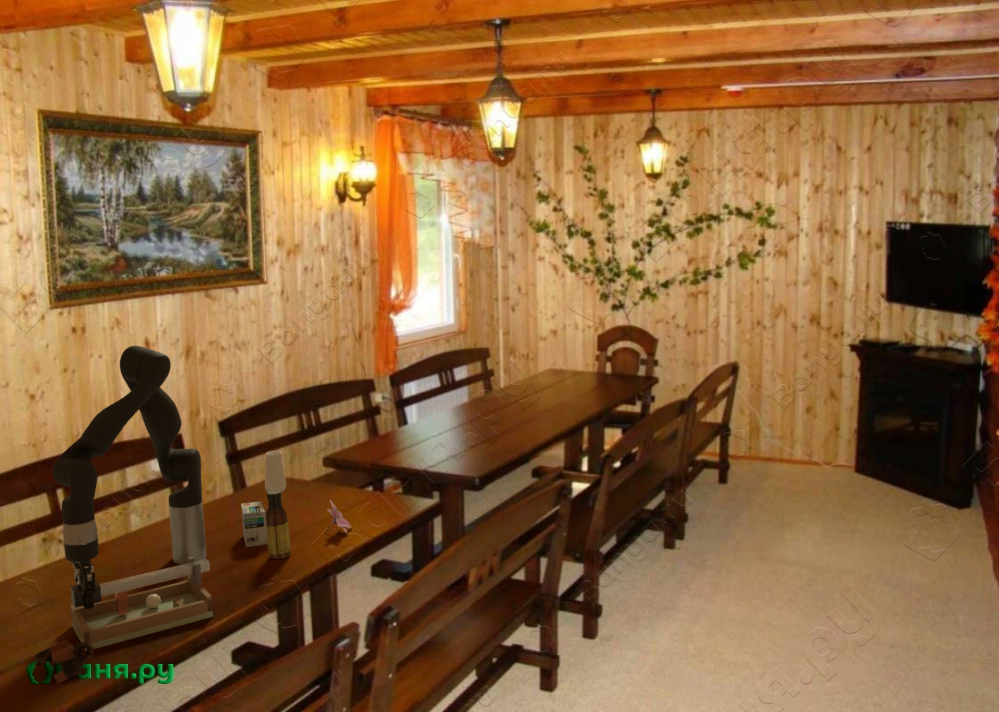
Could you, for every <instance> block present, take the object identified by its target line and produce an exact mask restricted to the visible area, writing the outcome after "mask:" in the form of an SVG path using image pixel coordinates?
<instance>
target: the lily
mask: <svg viewBox="0 0 999 712" xmlns="http://www.w3.org/2000/svg"><path fill="white" fill-rule="evenodd" d="M329 502H330V505H331V509H332V510H331V509H330V508H327V509H326V511H327V512H329V513H330V515H332V521H331V523H330V525H329V526H328V527H327V529H326V530H325V532H326V533H327V532H328V530H329V529H330V527H331V526H332V525H337V526H338V527H339V528H342V529H343V530H344V532H345V534H346V533H347V532H348V529H347V528H349V529H351V527H352V525H351V524H350V523H349V521H348V520H347V519H345V517H343V514H342V513H341V511H340V510H338V508H337V506H336V505H335V504H334V502H332V500H331V499H329ZM350 526H351V527H350Z"/></svg>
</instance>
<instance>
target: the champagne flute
mask: <svg viewBox="0 0 999 712" xmlns="http://www.w3.org/2000/svg"><path fill="white" fill-rule="evenodd" d="M264 472H265V475H264V476H265V478H264V488H265V490H266V492H269V491H272V490H280V491H281V494H282V493H284V492H285V490H286V488H287V481H286V475H285V473H286V472H285V467H284V462H283V455H282V452H281V451H280V450H279V451H278V450H270V451H267V452H266V453H265V471H264Z"/></svg>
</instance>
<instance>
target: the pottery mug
mask: <svg viewBox="0 0 999 712" xmlns="http://www.w3.org/2000/svg"><path fill="white" fill-rule="evenodd" d="M85 648H86V649H87V651H86V653H85V654H84V656H83V655H82V651H83V649H85ZM94 651H95V649H94V647H92V646H91V643H89V642H82V643H81V642H79V643H78V644H71V643H70V639H65V640H63V641H61V642H58V643H55V644H54V645H52V646H50V647H47V648H45V649H44V650H42V651H39V652H38V653H37V654H35V655H34V657H35V658H36V662H35V665H34V668H35V670H37V669H38V667H39V666H45V665H47V663H52V662H53V663H54V664H57V665H59V666H60V668H61V670H60V671H58V672H57V673H54V675H53V677H54V679H55V682H56V683H57V684H61V683H63V682H66V681H68V680H69V679H72V678H75V677H77V676H80V675H81V674H82V668H84V666H85V664H86V662H88V661H89V660H90V659H91V658H92V657H93V653H94Z"/></svg>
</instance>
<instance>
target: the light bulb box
mask: <svg viewBox="0 0 999 712" xmlns="http://www.w3.org/2000/svg"><path fill="white" fill-rule="evenodd" d="M240 507H241V508H240V509H241V521H242V524H241V525H242V532H243V533H242V534H243V539H244V544H245V547H246V548H249V547H257V546H264V545H265V546H266V545H268V537H267V527H266V512H267V510H266V509H265V507H264V504H263V501H255V502H254V501H253V502H244V503H241V504H240Z"/></svg>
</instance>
